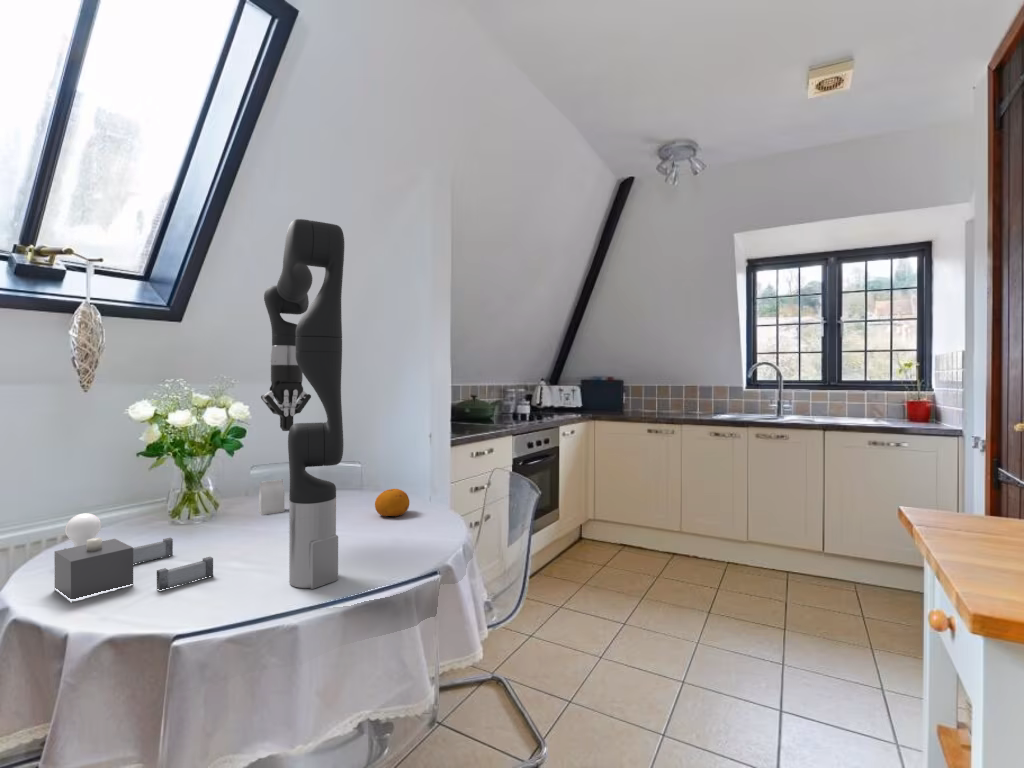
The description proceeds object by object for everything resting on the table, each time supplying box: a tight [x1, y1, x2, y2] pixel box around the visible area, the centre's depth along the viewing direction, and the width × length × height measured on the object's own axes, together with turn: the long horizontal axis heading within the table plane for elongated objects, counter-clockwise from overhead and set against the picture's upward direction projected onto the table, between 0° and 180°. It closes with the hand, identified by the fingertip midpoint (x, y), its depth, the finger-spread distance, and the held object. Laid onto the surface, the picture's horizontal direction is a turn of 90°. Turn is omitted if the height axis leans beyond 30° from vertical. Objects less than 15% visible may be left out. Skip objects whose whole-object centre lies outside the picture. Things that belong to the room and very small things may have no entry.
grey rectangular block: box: [258, 479, 285, 516], centre depth 163 cm, size 4×7×10 cm, turn 127°
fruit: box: [374, 488, 410, 517], centre depth 160 cm, size 10×10×8 cm
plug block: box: [54, 537, 134, 599], centre depth 104 cm, size 10×10×10 cm
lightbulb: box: [64, 512, 102, 547], centre depth 119 cm, size 6×6×11 cm
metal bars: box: [133, 537, 214, 590], centre depth 113 cm, size 23×10×4 cm, turn 53°
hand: (286, 430), depth 133 cm, fingers closed
